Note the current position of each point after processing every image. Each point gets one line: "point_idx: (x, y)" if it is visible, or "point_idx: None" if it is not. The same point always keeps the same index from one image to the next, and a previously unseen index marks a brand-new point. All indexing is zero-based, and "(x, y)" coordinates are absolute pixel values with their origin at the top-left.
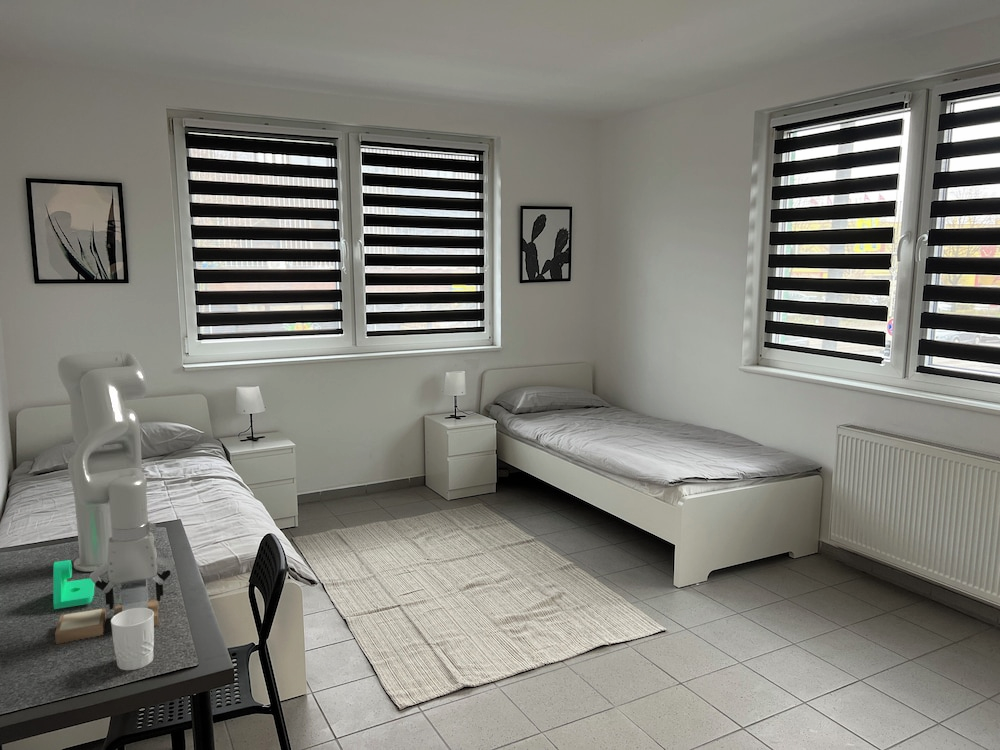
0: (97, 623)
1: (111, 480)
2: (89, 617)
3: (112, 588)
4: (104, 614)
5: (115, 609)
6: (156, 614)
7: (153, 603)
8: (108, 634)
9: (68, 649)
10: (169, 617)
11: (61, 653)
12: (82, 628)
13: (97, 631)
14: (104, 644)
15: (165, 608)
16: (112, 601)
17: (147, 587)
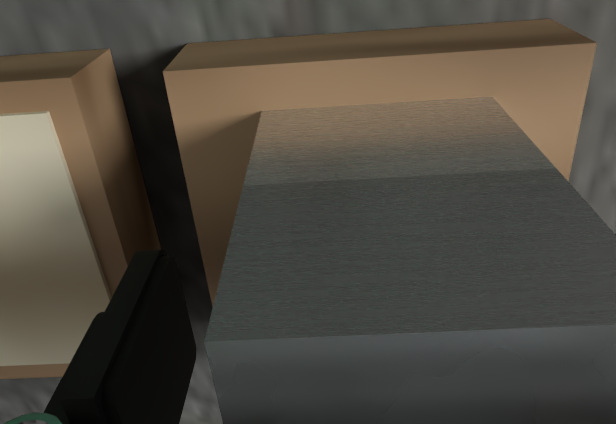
0: None
1: None
2: (7, 250)
3: (116, 418)
4: (113, 209)
5: (186, 156)
6: None
7: (535, 141)
8: (206, 307)
9: (34, 390)
10: (599, 207)
11: (16, 413)
12: (35, 376)
13: None
14: (214, 396)
15: (608, 28)
16: (179, 413)
17: (561, 174)
